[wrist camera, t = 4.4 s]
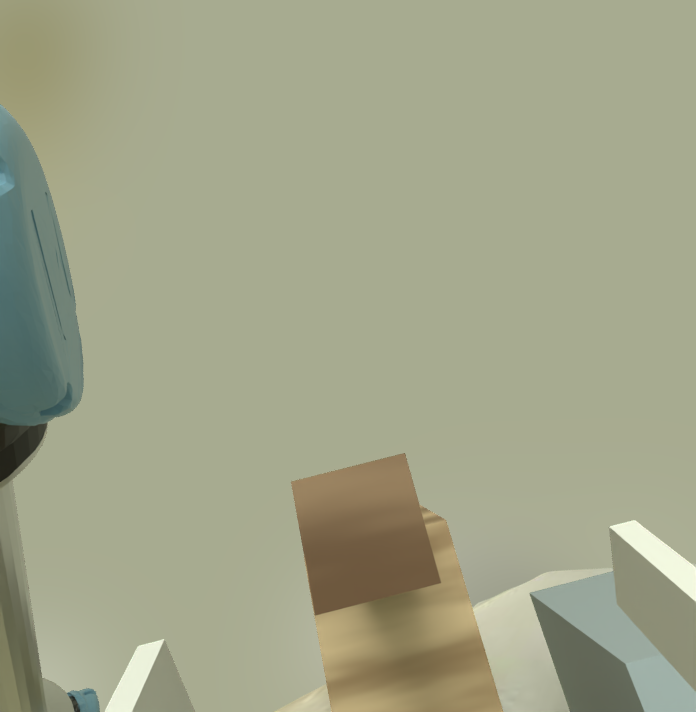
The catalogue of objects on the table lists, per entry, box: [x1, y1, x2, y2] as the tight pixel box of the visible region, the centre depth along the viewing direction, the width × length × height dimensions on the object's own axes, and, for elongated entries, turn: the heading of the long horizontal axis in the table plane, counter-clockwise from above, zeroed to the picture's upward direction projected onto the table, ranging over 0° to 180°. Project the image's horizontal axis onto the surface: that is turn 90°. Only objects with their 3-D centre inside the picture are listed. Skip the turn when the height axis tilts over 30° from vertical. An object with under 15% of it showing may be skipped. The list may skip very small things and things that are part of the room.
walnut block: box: [291, 453, 441, 616], centre depth 26 cm, size 30×4×4 cm, turn 176°
